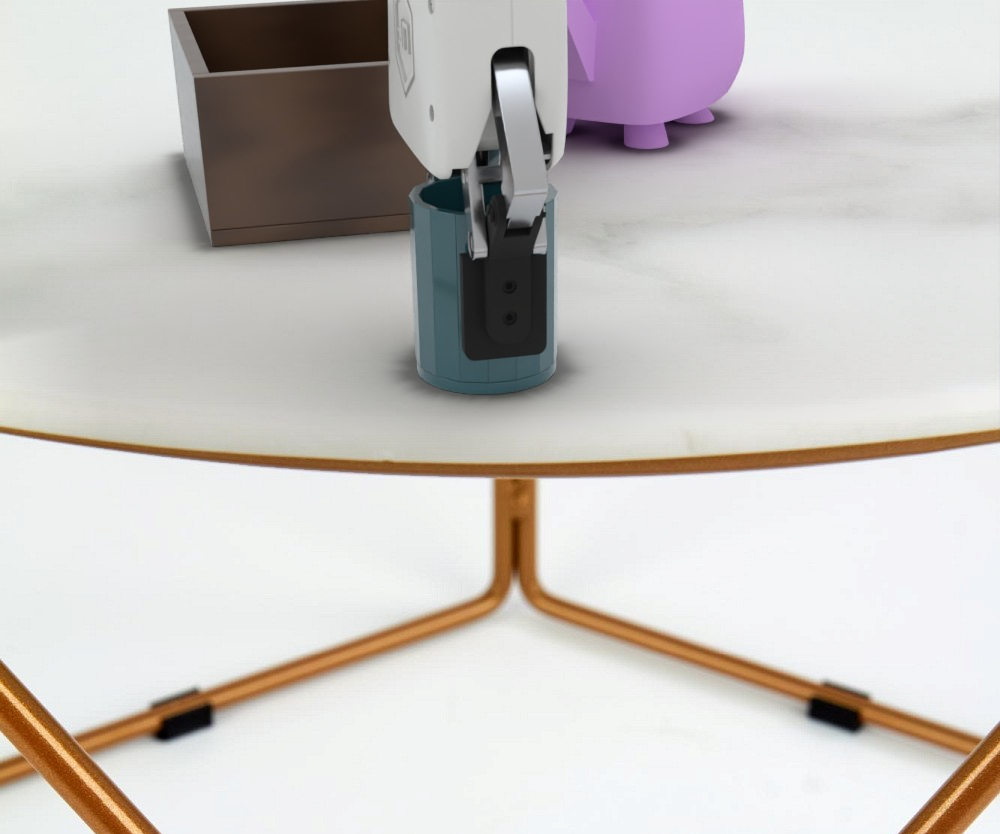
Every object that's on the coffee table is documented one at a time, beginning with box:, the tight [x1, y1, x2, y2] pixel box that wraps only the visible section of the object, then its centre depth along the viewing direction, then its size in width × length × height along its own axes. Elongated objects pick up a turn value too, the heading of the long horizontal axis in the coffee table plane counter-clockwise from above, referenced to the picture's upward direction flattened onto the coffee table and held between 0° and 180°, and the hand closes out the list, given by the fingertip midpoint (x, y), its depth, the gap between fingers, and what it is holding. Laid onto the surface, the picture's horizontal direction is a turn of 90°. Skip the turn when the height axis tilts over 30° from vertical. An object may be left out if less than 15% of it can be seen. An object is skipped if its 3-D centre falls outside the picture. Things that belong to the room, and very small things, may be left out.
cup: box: [408, 174, 559, 395], centre depth 67 cm, size 6×6×7 cm
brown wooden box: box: [167, 0, 502, 248], centre depth 88 cm, size 15×17×8 cm
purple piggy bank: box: [566, 0, 746, 150], centre depth 97 cm, size 20×12×13 cm, turn 150°
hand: (485, 322), depth 68 cm, fingers closed on cup, 5 cm apart
